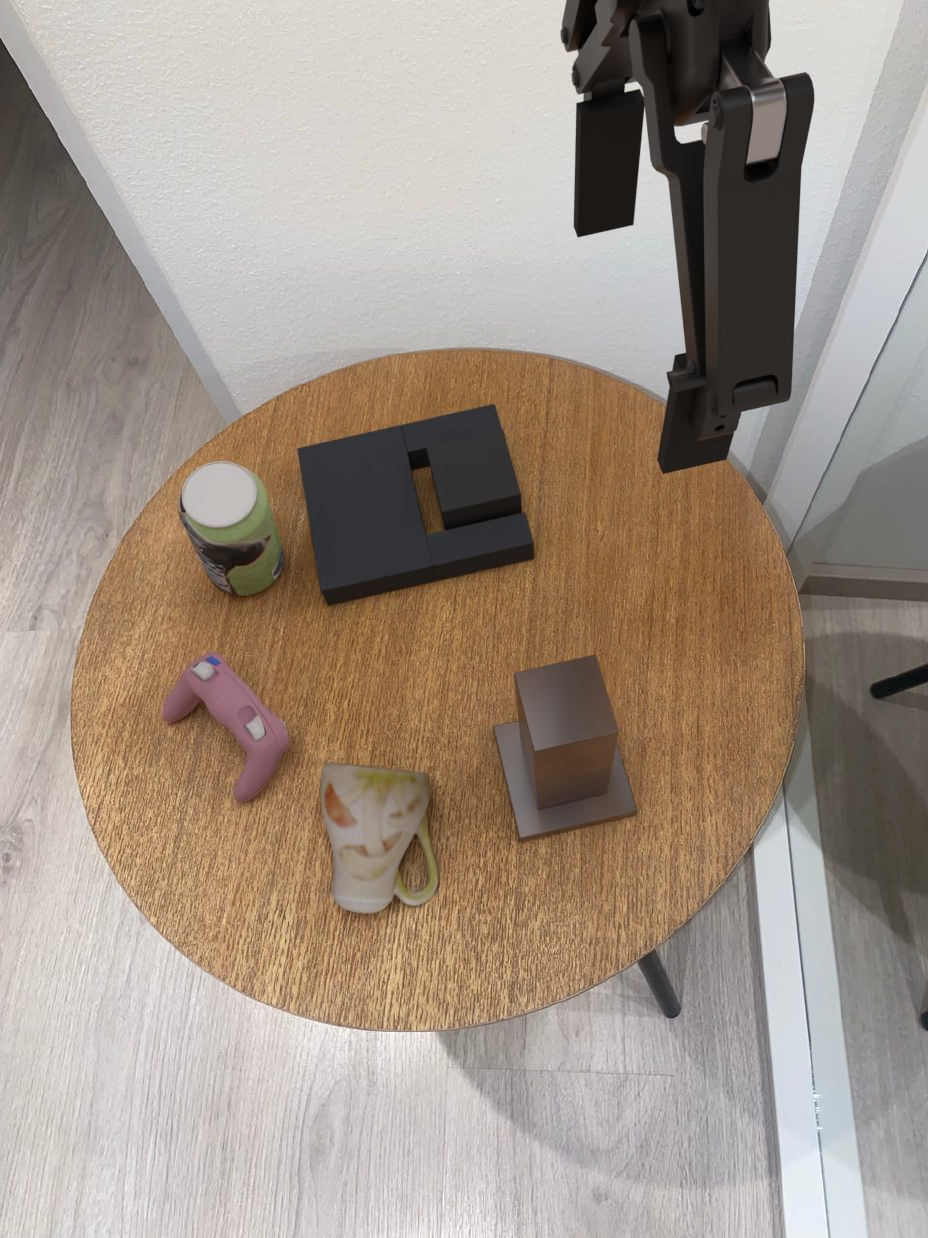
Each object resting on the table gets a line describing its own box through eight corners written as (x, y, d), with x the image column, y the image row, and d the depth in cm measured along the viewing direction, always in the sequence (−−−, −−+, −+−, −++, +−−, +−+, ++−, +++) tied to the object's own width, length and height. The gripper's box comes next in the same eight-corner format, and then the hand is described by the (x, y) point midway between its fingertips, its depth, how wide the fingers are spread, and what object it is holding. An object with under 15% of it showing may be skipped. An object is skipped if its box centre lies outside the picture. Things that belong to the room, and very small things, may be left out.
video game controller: (292, 780, 69) (305, 721, 64) (240, 813, 67) (249, 755, 62) (209, 690, 73) (215, 628, 68) (156, 718, 70) (158, 656, 65)
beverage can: (229, 524, 77) (176, 435, 66) (314, 545, 76) (274, 458, 65) (196, 593, 75) (136, 512, 64) (284, 616, 73) (237, 538, 62)
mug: (313, 926, 64) (266, 822, 58) (372, 815, 71) (334, 713, 65) (417, 945, 61) (377, 837, 55) (467, 828, 68) (436, 722, 62)
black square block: (505, 458, 78) (502, 428, 74) (522, 521, 75) (521, 493, 71) (431, 475, 77) (425, 446, 74) (446, 538, 75) (441, 511, 71)
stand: (604, 704, 68) (615, 621, 56) (636, 815, 65) (656, 753, 52) (493, 730, 68) (479, 653, 55) (519, 842, 65) (511, 787, 52)
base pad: (496, 422, 79) (494, 403, 77) (534, 558, 74) (533, 542, 71) (304, 465, 79) (296, 447, 77) (327, 605, 73) (320, 591, 71)
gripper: (462, -440, 29) (499, 160, 48) (734, 111, 18) (642, 599, 38) (706, -492, 29) (646, 128, 48) (1117, 25, 19) (830, 556, 38)
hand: (644, 335), depth 43 cm, fingers open, 13 cm apart
